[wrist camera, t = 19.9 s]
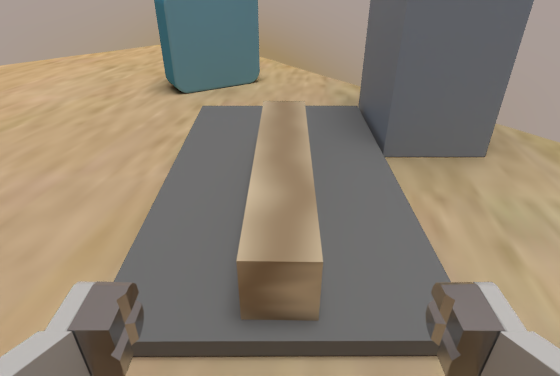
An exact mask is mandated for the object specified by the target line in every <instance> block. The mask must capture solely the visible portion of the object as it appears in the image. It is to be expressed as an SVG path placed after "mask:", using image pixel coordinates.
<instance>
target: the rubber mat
mask: <svg viewBox="0 0 560 376" xmlns="http://www.w3.org/2000/svg"><path fill="white" fill-rule="evenodd" d="M262 108H263V106H202V108H201V110H200V112H199V114H198V116H197V118H196V120H195V122H194V124H193V126H192V128H191V130H190V132H189V134H188V136H187V138H186V140H185V142H184V144H183V146H182V148H181V150H180V152H179V154H178V156H177V158H176V160H175V162H174V164H173V166H172V168H171V170H170V172H169V173H168V175H167V177H166V179H165V181H164V183H163V185H162V187H161V189H160V191H159V193H158V195H157V197H156V199H155V201H154V203H153V205H152V207H151V209H150V211H149V213H148V215H147V217H146V219H145V221H144V223H143V225H142V227H141V229H140V231H139V233H138V235H137V237H136V239H135V241H134V243H133V244H132V246H131V248H130V250H129V252H128V254H127V256H126V258H125V260H124V262H123V264H122V266H121V268H120V270H119V272H118V274H117V276H116V278H115V280H114V282H130V283H136V285H137V288H138V291H139V294H138V296H137V299H136V300H138V301H139V302H140V303H141V304H142V306H143V310H144V322H143V329H142V332H141V335H140V338H139V339H138V340H137V341H136V342H135V343H134V344H133V345H132V350H133V353H134V354H133V356H383V355H437V351H438V348H439V346H438V345H437V344H436V343H435V342H434V341H432V340H431V339H430V336H429V333H428V330H427V326H426V309H427V305H428V304H429V303H430V302H431V301H432V300H434V298H433V296H432V294H431V291H432V288H433V286H434V284H435V283H440V282H451V281H450V279H449V278H448V276H447V274H446V272H445V270H444V268H443V266H442V264H441V263H440V261H439V259H438V257H437V255H436V253H435V251H434V249H433V248H432V246H431V244H430V242H429V240H428V238H427V236H426V234H425V232H424V231H423V229H422V227H421V225H420V223H419V221H418V219H417V217H416V216H415V214H414V212H413V210H412V208H411V206H410V204H409V202H408V201H407V199H406V197H405V195H404V193H403V191H402V189H401V187H400V185H399V184H398V182H397V180H396V178H395V176H394V174H393V172H392V170H391V169H390V167H389V165H388V163H387V161H386V159H385V157H384V155H383V154H382V152H381V150H380V148H379V146H378V144H377V142H376V140H375V138H374V137H373V135H372V133H371V131H370V129H369V127H368V125H367V123H366V122H365V120H364V118H363V116H362V114H361V112H360V110H359V108H358V107H357V106H305V108H306V117H307V126H308V135H309V143H310V152H311V161H312V169H313V178H314V187H315V196H316V204H317V213H318V222H319V230H320V239H321V248H322V256H323V270H322V283H321V295H320V308H319V321H308V320H244V319H241V314H240V301H239V288H238V275H237V262H236V260H237V254H238V249H239V243H240V237H241V231H242V225H243V219H244V213H245V207H246V202H247V196H248V190H249V184H250V178H251V172H252V166H253V160H254V155H255V149H256V143H257V137H258V131H259V125H260V119H261V114H262Z"/></svg>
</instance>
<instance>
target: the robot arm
mask: <svg viewBox="0 0 560 376" xmlns="http://www.w3.org/2000/svg"><path fill="white" fill-rule="evenodd" d="M138 294H139V291H138V288H137V285H136V283H130V282H77V283H76V284H75V285H73V287H72V288H71V290H70V291H69V293H68V295H67V296H66V298H65V299H64V301H63V302H62V304H61V306H60V307H59V309H58V310H57V312H56V313H55V315H54V317H53V318H52V320H51V321H50V323H49V324H48V326H47V328H46V329H45V331H38V332H37V333H35V334H34V335H32V336H31V337H29V338H28V339H26V340H25V341H23V342H22V343H21V344H19V345H18V346H16V347H15V348H13V349H12V350H10V351H9V352H7V353H6V354H4V355H3V356H1V357H0V376H126V373H127V370H128V368H129V365H130V362H131V360H132V357H133V354H134V353H133V350H132V345H133V344H134V343H135V342H136V341H137V340H138V339H139V338H140V335H141V332H142V329H143V322H144V310H143V306H142V304H141V303H140V302H139V301H138V300H136V299H137V296H138ZM431 294H432V296H433V298H434V300H432V301H431V302H430V303H429V304H428V305H427V309H426V326H427V330H428V333H429V336H430V339H431V340H432V341H434V342H435V343H436V344H437V345H438V346H439V348H438V351H437V356H438V359H439V361H440V364H441V366H442V368H443V371H444V373H445V376H560V349H559V348H558V347H556V346H555V345H553V344H552V343H550V342H549V341H547V340H546V339H544V338H543V337H541V336H540V335H538V334H537V333H535V332H528V331H527V329H526V328H525V326H524V325H523V323H522V322H521V321H520V319H519V318H518V316H517V315H516V313H515V312H514V310H513V309H512V307H511V306H510V304H509V303H508V301H507V300H506V298H505V297H504V295H503V294H502V292H501V291H500V289H499V288H498V287H497V285H496V284H494V283H493V282H473V283H472V282H440V283H435V284H434V286H433V288H432V291H431Z"/></svg>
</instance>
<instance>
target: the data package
mask: <svg viewBox="0 0 560 376" xmlns="http://www.w3.org/2000/svg"><path fill="white" fill-rule="evenodd" d="M154 2H155V9H156V16H157V22H158V29H159V34H160V42H161V48H162V55H163V61H164V68H165V74H166V78H167V80H168V81H169V82H170V83H171V84H172V85H174V86H175V87H176V88H177V89H179V90H180V91H181V92H184V93H193V92H199V91H205V90H212V89H218V88H224V87H230V86H237V85H243V84H249V83H252V82H254V81H255V80H256V79H257V78H258V75H259V71H260V69H259V32H258V0H154Z"/></svg>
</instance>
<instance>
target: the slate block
mask: <svg viewBox="0 0 560 376" xmlns="http://www.w3.org/2000/svg"><path fill="white" fill-rule="evenodd" d="M533 1H534V0H371V1H370V10H369V19H368V28H367V37H366V45H365V54H364V63H363V72H362V81H361V90H360V99H359V110H360V112H361V114H362V116H363V118H364V120H365V122H366V123H367V125H368V127H369V129H370V131H371V133H372V135H373V137H374V138H375V140H376V142H377V144H378V146H379V148H380V150H381V152H382V154H383V155H384V157H485V155H486V152H487V149H488V145H489V142H490V139H491V136H492V133H493V129H494V126H495V123H496V119H497V116H498V113H499V110H500V107H501V104H502V101H503V97H504V94H505V91H506V88H507V85H508V81H509V78H510V75H511V72H512V69H513V65H514V62H515V59H516V56H517V53H518V49H519V46H520V43H521V39H522V37H523V33H524V30H525V27H526V24H527V20H528V17H529V14H530V11H531V8H532V5H533Z"/></svg>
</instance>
